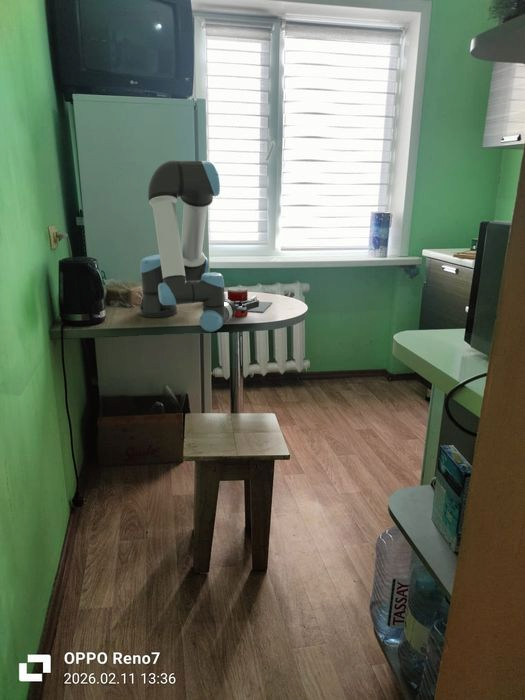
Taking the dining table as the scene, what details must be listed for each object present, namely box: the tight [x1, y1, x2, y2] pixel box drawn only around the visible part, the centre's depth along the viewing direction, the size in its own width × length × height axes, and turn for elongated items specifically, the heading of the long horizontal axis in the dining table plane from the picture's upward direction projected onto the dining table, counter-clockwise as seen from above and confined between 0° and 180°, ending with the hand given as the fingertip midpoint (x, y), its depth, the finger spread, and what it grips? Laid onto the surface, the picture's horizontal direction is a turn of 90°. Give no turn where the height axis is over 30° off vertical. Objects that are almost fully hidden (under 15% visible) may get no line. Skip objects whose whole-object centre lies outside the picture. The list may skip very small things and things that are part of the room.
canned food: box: [227, 286, 249, 319], centre depth 198 cm, size 8×8×11 cm
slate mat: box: [248, 301, 273, 314], centre depth 212 cm, size 18×16×1 cm
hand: (240, 297), depth 201 cm, fingers open, 12 cm apart
